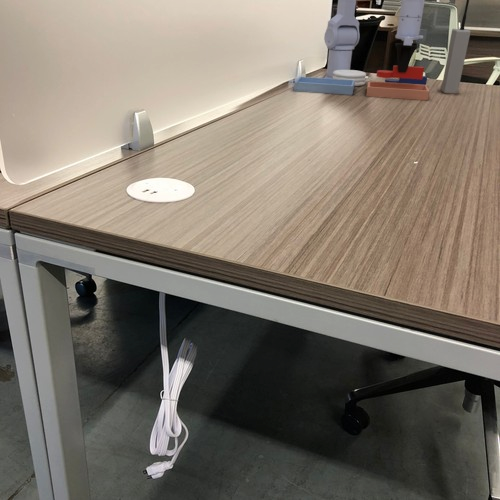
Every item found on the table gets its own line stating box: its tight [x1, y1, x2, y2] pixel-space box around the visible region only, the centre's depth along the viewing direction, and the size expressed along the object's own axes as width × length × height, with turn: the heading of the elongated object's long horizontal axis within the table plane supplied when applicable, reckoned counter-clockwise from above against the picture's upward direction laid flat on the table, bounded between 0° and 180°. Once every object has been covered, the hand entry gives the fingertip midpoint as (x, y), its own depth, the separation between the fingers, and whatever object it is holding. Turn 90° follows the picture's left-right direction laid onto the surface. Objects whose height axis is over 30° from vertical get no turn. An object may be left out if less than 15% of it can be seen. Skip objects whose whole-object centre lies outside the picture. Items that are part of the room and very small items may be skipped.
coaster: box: [333, 69, 367, 87], centre depth 154 cm, size 10×10×4 cm
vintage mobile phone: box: [439, 0, 471, 95], centre depth 141 cm, size 4×5×25 cm
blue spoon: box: [384, 75, 428, 85], centre depth 154 cm, size 12×4×3 cm, turn 77°
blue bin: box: [293, 76, 355, 96], centre depth 144 cm, size 10×16×2 cm, turn 77°
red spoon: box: [376, 64, 425, 79], centre depth 138 cm, size 12×4×3 cm, turn 77°
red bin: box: [366, 80, 430, 101], centre depth 140 cm, size 10×16×2 cm, turn 77°
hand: (401, 71), depth 138 cm, fingers closed on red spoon
